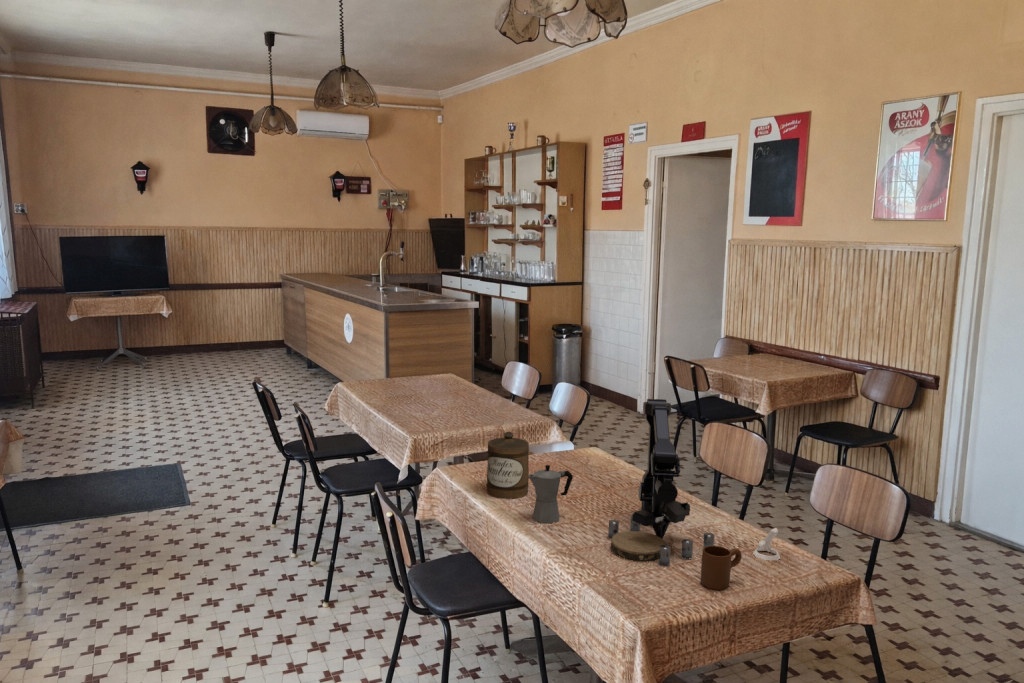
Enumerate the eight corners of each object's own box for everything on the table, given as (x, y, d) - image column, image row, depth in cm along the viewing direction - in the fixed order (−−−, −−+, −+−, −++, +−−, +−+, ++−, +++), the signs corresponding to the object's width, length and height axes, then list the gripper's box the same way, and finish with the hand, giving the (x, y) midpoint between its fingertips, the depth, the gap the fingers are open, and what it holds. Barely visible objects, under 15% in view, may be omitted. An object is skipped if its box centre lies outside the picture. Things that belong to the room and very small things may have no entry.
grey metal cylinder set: (606, 536, 234) (606, 520, 233) (656, 523, 246) (656, 508, 245) (664, 567, 214) (665, 550, 213) (715, 551, 225) (716, 535, 224)
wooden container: (480, 495, 267) (482, 435, 264) (494, 483, 281) (496, 425, 278) (520, 501, 263) (522, 439, 260) (533, 488, 277) (535, 429, 274)
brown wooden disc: (672, 547, 227) (672, 538, 227) (655, 567, 214) (655, 557, 213) (622, 536, 235) (622, 527, 235) (602, 554, 221) (602, 544, 221)
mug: (729, 573, 211) (732, 541, 209) (748, 585, 204) (751, 552, 202) (694, 580, 206) (696, 547, 204) (712, 592, 199) (714, 558, 198)
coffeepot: (531, 525, 241) (533, 470, 239) (522, 515, 250) (523, 462, 248) (576, 521, 246) (578, 467, 243) (565, 511, 255) (567, 459, 252)
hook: (779, 553, 212) (762, 533, 216) (762, 574, 221) (745, 555, 224) (797, 542, 216) (779, 523, 220) (779, 564, 224) (762, 545, 228)
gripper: (659, 504, 215) (656, 556, 218) (704, 493, 226) (701, 543, 228) (632, 493, 224) (630, 543, 227) (677, 482, 235) (674, 530, 237)
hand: (659, 540), depth 229 cm, fingers closed
